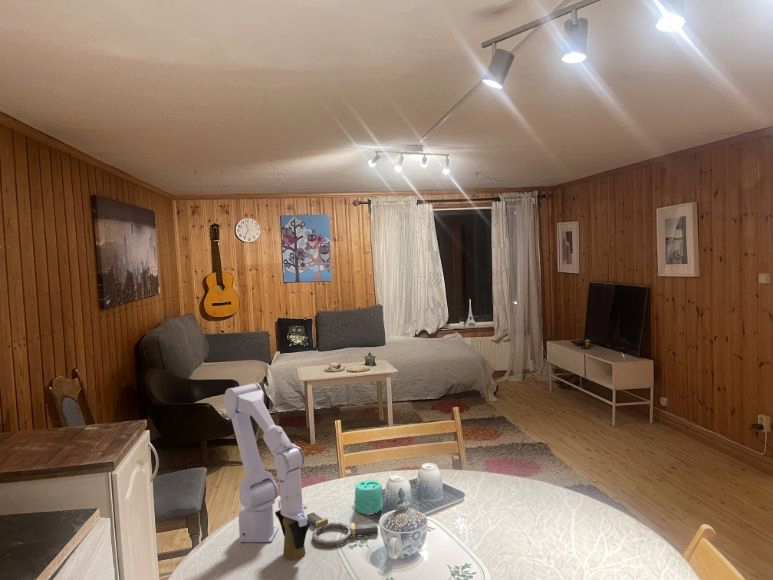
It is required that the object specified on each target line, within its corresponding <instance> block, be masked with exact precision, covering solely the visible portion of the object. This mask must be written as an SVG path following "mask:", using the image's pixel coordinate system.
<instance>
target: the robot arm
mask: <svg viewBox="0 0 773 580" xmlns="http://www.w3.org/2000/svg"><path fill="white" fill-rule="evenodd" d="M262 388H263V387H262V386H261V385H260V384H259V383H258V382H256V381H255V382H252V383H250V384H245V385H239V386H236V387H230V388H229V387H228V388H227V389H226V390H225V392H224V396H223V399H222V400H223V404H224V408H225V412H226V414H227V415H226V416H227V418H229V419H231V422H232V427H233V430H234V434H235V437H236V442H237V443H236V444H237V445H238V450H239V454H240V458H241V462H242V467H243V470H244V474H245V475H244V476H243V478H242V479H241V481H240V483H238V488H239V489H238V490H239V500H240V503H241V505H242V506H241V507H240V509H239V512H238V528H239V529H238V531H239V540H238V542H239V543H272V541H273V540H274V539H275V538H274V537H275V535H276V534H277V532H278V530H279V526H275V525H274V524H275V523H274V514H275V516H276V518H277V519H278V521H279V524H280V526H281V527H280V528H281V531H282V534H283V537H284V538H285V527H284V526H283V518H284V517H288V518H290V519H293V520H296V521H295V523H292V524H289V525H288V527H289V528H290V530H291V532H292V535H293V539H294V545H295V548H296V549H299V548H302V547H305V542H306V541H305V540H306V536H307V532H308V530H309V528H310V527H311V523H310V521H309V520H307V516H306V513H305V510H306V509H307V508H308V507H307V505H306V504H305V503H303V492H302V490H303V487H302V474H301V472H302V470H301V468H302V467H303V466H304V465H305V461H306V460H305V454H304V452H303V450H302V448H301V447H299V446H298V445H296V444H295V443H292V442H291V440H290V438H289V437H288V436H287V433H286V432H285V431H284V429H283V427H281V426H279V425H276V424H275V422H274V420H273V418H272V416H271V415H270V412H269V410H268V408H267V406H266V404H265V402H264V400H265V393H264V391H263V389H262ZM251 417H252V419H254V421H255V422H256V423H257V425H258V426H259V427H260V429H261V430H262V432H263V437H262V439H263V441H264V443H265V444H266V446H267V448H268V449H269V451H270V452H271V454H272V455H273V458H274V460H273V466H274V468H275V470H276V476H277V478H278V480H279V487H278V484H277V482H276V481H275V479H274V476H273V473H271V472H269V471H267V470H265V469H264V467H263V463H262V460H261V456H260V455H261V454H260V452H259V448H258V443H257V440H256V436H255V432H254V429H253V428H254V427H253V425H252V421H251V420H252V419H251ZM279 493H280V494H279ZM279 495H280V499H278V500H277V501H278V502H277V503H278V509H279V510H276V511H275V512H274V510H273V509H274V508H273V505H274V504H275V503H276V502H275V500H276V499H277V498H278V496H279Z"/></svg>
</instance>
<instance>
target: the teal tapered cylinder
mask: <svg viewBox="0 0 773 580" xmlns="http://www.w3.org/2000/svg"><path fill="white" fill-rule="evenodd" d="M354 490H355V491H354V504H355V505H354V506H355V510H356V511H357V513H358V514H360V513H361V514H360V515H363V514H368V513H376V512H378V511H380V510H381V511H382V510H383V485H382V483H381V482H379V481H378V480H374V479H366V480H365V479H364V480H362V481H359V482H357V483H356V484H355V489H354ZM381 511H380V512H381Z"/></svg>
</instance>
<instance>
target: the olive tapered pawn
mask: <svg viewBox="0 0 773 580" xmlns="http://www.w3.org/2000/svg"><path fill="white" fill-rule="evenodd" d="M295 521H296V520H293V519H290V518H288V517H284V518H283V526H284V527H285V537H284V538H283V539H284V540H283V551H282V552H283V554H282V555H283V558H284V559H285V560H287V561H296V560H299V559H302V558H303V557H305V555H306V553H307V552H306V548H305V546H304V547H302V548H299V549H296V548H295V545H294V539H293V535H292V532H291V530H290V528H289V527H288V525H289V524H292V523H295Z"/></svg>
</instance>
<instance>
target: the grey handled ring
mask: <svg viewBox="0 0 773 580" xmlns="http://www.w3.org/2000/svg"><path fill="white" fill-rule="evenodd" d="M306 518H307V520H309V521H310V523H311V524H310V526H313V527H314V529H313V532H312V541H313V542H314V544H315V545H317V546H319V547H323V548H336V547H339V546H338V545H340V546H342V545H341V544H343V545H345V544H347V543H348V542H349V541H351V540H352V537H356V536H357V537H359V536H358V535H367V536H371V535H370V534H378V535H379V526H378V523H366V524H357V525H356V523H355V522H352V523H350V525H349V524H347V523H343V522H329V518H326V517H325V518H323V517H321V516H319V515H318V514H316V513H315V512H310V513H308V514H306ZM340 529H341V530H342V531H344V530H346V531H347V532H348V533H347V532H346V531H345V532H346V534H345V535H343V536H342V537H338V538H336V539H324V538H321V537H319V535H320V534H322V533H323V532H325V531H330V530H340ZM351 536H352V537H351ZM350 539H351V540H350ZM348 540H349V541H348ZM347 541H348V542H347ZM346 542H347V543H346ZM344 543H345V544H344Z"/></svg>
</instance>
